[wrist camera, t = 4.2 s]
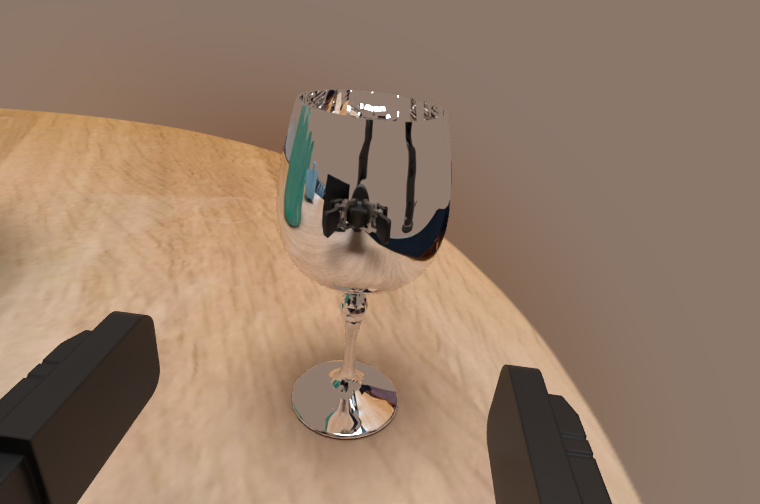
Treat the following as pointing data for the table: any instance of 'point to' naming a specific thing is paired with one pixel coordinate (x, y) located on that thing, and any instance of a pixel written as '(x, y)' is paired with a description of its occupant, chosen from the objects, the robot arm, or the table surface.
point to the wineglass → (360, 228)
